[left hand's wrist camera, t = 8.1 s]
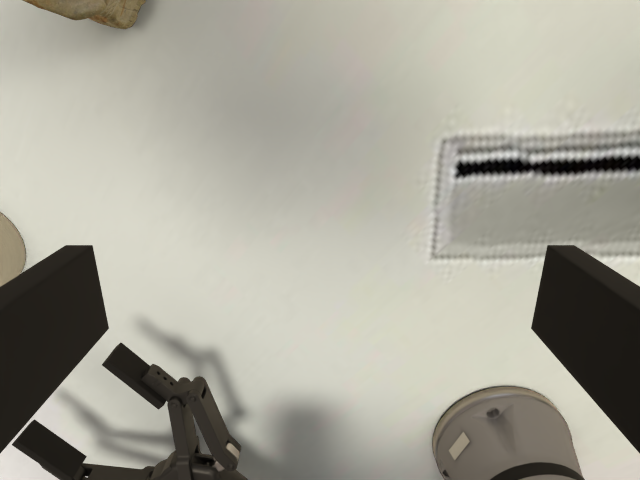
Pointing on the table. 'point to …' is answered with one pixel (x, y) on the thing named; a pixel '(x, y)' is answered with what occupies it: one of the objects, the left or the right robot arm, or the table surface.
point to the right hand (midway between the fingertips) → (65, 393)
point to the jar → (10, 251)
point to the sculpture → (95, 10)
